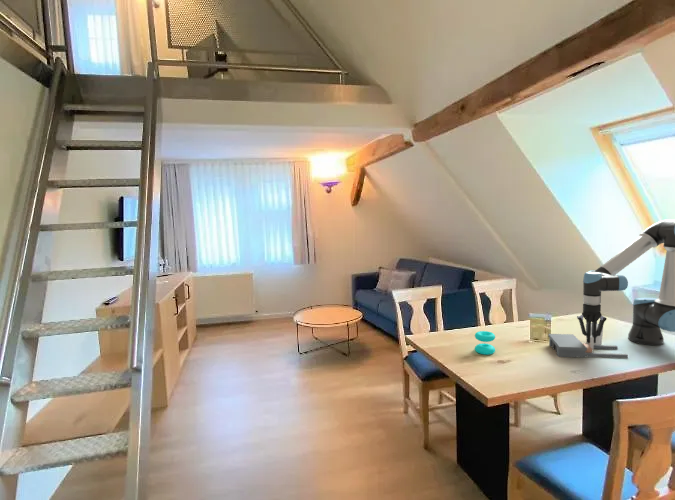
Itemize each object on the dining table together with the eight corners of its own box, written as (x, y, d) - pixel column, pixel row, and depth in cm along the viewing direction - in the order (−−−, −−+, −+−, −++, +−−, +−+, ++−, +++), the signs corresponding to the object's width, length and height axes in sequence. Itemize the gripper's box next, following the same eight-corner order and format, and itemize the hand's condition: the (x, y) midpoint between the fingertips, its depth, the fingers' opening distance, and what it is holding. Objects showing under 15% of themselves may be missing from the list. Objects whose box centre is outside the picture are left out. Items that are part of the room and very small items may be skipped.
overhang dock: (613, 345, 214) (613, 335, 213) (631, 360, 194) (631, 349, 194) (548, 343, 221) (548, 333, 220) (559, 358, 202) (559, 346, 201)
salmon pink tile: (586, 349, 211) (586, 343, 211) (592, 354, 204) (592, 349, 203) (556, 348, 215) (556, 342, 214) (561, 353, 207) (561, 348, 207)
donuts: (478, 329, 220) (497, 332, 214) (478, 347, 221) (497, 350, 215) (472, 334, 212) (491, 337, 206) (472, 353, 213) (491, 356, 207)
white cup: (605, 346, 214) (605, 327, 213) (588, 345, 216) (589, 327, 214) (599, 341, 222) (599, 323, 220) (582, 340, 223) (583, 322, 222)
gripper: (603, 301, 207) (602, 346, 209) (574, 301, 210) (574, 346, 212) (609, 305, 199) (608, 352, 202) (580, 305, 202) (579, 351, 205)
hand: (590, 348), depth 207 cm, fingers closed
